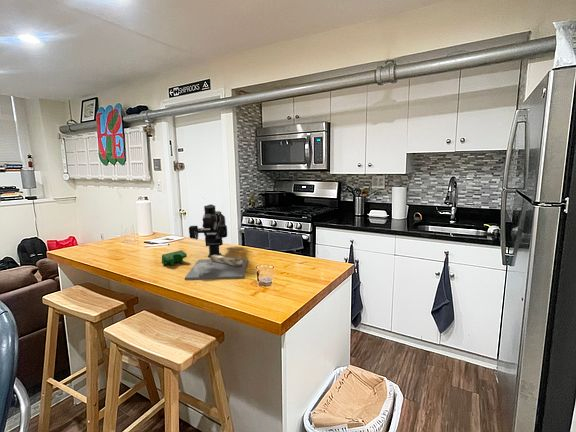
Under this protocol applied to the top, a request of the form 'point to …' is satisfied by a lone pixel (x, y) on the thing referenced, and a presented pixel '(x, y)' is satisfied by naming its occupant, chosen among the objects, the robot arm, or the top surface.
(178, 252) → the clamp
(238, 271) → the board
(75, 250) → the top surface
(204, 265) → the block
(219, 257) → the link
